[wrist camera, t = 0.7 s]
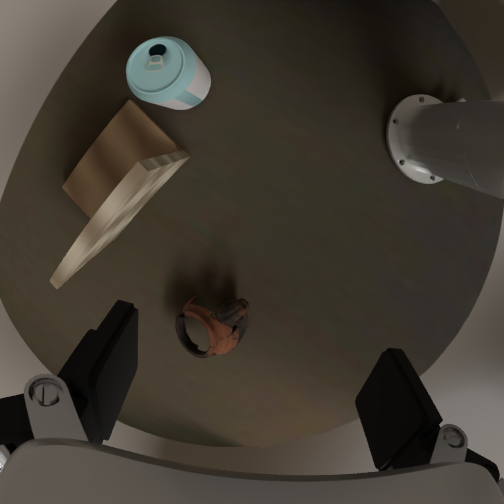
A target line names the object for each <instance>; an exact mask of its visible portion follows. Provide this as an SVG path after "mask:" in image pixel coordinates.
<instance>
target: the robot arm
mask: <svg viewBox="0 0 504 504" xmlns="http://www.w3.org/2000/svg"><path fill="white" fill-rule="evenodd" d="M419 99H420V101H419ZM393 120H394V121H395V123H393ZM386 142H387V147H388V151H389V153H390V156H391V158H392V160H393V162H394V164H395V165H396V167H397V168H398V169H399V170H400V171H401V172H402V173H403V174H404V175H405V176H407V177H408V178H410V179H412V180H414V181H417V182H420V183H425V184H433V183H436V182H439V181H442V180H443V179H446V180H450V181H453V182H456V183H458V184H461V185H464V186H467V187H470V188H473V189H476V190H478V191H481V192H484V193H486V194H489V195H492V196H495V197H498V198H501V199H504V100H488V101H465V100H464V99H463V98H459V99H458V100H457V101H456V102H450V103H443V102H442V101H440V100H438V99H437V98H435V97H432V96H430V95H424V94H418V95H412V96H408V97H406V98H404V99H402V100H401V101H400V102H399V103H397V105H396V106H395V107H394V108H393V110H392V112H391V114H390V116H389V118H388V122H387V127H386ZM399 161H401V162H400V163H399ZM430 176H431V178H430ZM137 365H138V309H136V308H134V304H133V303H129V302H125V301H121V300H118V301H117V302H116V303H115V304H114V306H113V307H112V309H111V310H110V311H109V313H108V314H107V316H106V317H105V319H104V320H103V321H102V323H101V324H100V326H99V327H98V329H97V330H93V329H90V330H89V331H88V332H87V333H86V334H85V336H84V337H83V339H82V340H81V341H80V343H79V344H78V346H77V347H76V349H75V350H74V351H73V353H72V354H71V356H70V357H69V359H68V360H67V362H66V363H65V365H64V366H63V368H62V369H61V371H60V372H59V374H58V375H57V376H55V375H50V374H40V375H37V376H34V377H33V378H31V379H30V380H29V381H28V382H27V383H26V385H25V388H24V394H19V395H15V396H10V397H5V398H1V399H0V504H504V479H503V478H501V479H500V480H499V476H500V474H499V470H498V467H497V465H496V464H495V463H493V462H492V461H490V460H488V459H486V458H484V457H483V456H481V455H479V454H477V453H475V452H474V451H472V450H470V449H468V448H467V445H468V439H467V436H466V434H465V433H464V432H463V431H462V430H461V429H460V428H459V427H457V426H455V425H452V424H446V425H443V426H442V427H441V428H440V426H439V424H440V423H441V422H442V421H443V419H442V417H441V416H440V414H439V412H438V410H437V408H436V406H435V405H434V403H433V401H432V399H431V397H430V396H429V394H428V392H427V390H426V389H425V387H424V385H423V383H422V382H421V380H420V378H419V376H418V375H417V373H416V371H415V370H414V368H413V366H412V365H411V363H410V361H409V360H408V358H407V356H406V355H405V353H404V351H403V350H402V349H396V348H388V349H387V350H386V351H384V352H383V353H382V354H381V356H380V358H379V359H378V361H377V363H376V365H375V367H374V368H373V370H372V372H371V374H370V375H369V377H368V379H367V380H366V382H365V384H364V385H363V387H362V389H361V390H360V392H359V394H358V395H357V397H356V401H355V404H356V408H357V411H358V414H359V417H360V420H361V423H362V426H363V429H364V432H365V436H366V439H367V442H368V445H369V448H370V452H371V455H372V458H373V461H374V465H375V467H376V468H377V469H379V471H378V472H368V473H357V474H342V475H309V476H308V475H305V476H304V475H272V474H257V473H245V472H235V471H226V470H218V469H211V468H205V467H199V466H193V465H188V464H183V463H178V462H173V461H168V460H162V459H158V458H154V457H150V456H145V455H141V454H138V453H133V452H130V451H126V450H121V449H118V448H114V447H110V446H106V445H102V442H103V440H109V438H110V436H111V433H112V430H113V428H114V425H115V422H116V420H117V417H118V415H119V412H120V410H121V407H122V405H123V402H124V400H125V397H126V395H127V392H128V390H129V388H130V385H131V383H132V380H133V378H134V376H135V373H136V370H137Z"/></svg>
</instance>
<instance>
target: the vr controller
mask: <svg viewBox="0 0 504 504" xmlns="http://www.w3.org/2000/svg"><path fill="white" fill-rule="evenodd" d="M195 300H196V296H194V297H193V298H191V299H190V300H189V301H188V302H187V303H186V304H185V306H184V308H183V310H182V313H181V315H178V316H177V318H176V324H175V327H176V332H177V335H178V338H179V340H180V342H181V344H182V345H183V347H184V348H185V349H186V350H187V351H188V352H189V353H190V354H192V355H194V356H195V357H198V358H207V357H209V356H215V355H216V354H225V353H226V352H229V351H230V350H231V349H233V348H234V347H235V346H236V345H237V344H238V343H239V342H240V341H241V339H242V338H243V335H244V333H245V331H246V330H247V327H248V316H247V312H248V311H249V309H250V308H249V303H248V302H247V301H246V300H245V299H242V298H241V299H239V300H237V301H236V300H233V299H230V300H229V301H228V302H227V303H224V304H223V305H220V306H219V307H218V309H217V311H216V313H215V315H216V318H217V319H215V318H213V317H212V314H213V312H212V311H210V310H208V309H206V308H204V307H201V306H198V305H194V304H192V303H193V302H194V301H195ZM185 316H191V317H194V318H195V319H197V320H198V321H199V322H200V323H202V324H203V325H204V327H205V329H206V331H207V333H208V336H209V339H210V347H209V349H208V351H206V352H204V351H201V350H198V345H196V344H194V343H193V342H192V341H191V340H190V338H189V336H188V334H187V333H186V328H185V324H184V317H185ZM234 325H235V328H234V329H233V331H232V327H233V326H234Z"/></svg>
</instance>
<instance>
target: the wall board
mask: <svg viewBox="0 0 504 504" xmlns="http://www.w3.org/2000/svg"><path fill="white" fill-rule="evenodd" d="M189 157H190V156H189V155H188V154H187V153H186V152H185V151H184V150H183V149H182V148H181V147H180V146H179V145H178V144H177V143H176V142H175V141H174V140H173V139H172V138H171V137H170V136H169V135H168V134H167V133H166V132H165V131H164V130H163V129H162V128H161V127H160V126H159V125H158V124H157V123H156V122H155V121H154V120H153V119H152V118H151V117H150V116H149V115H148V114H147V113H146V112H145V111H144V110H143V109H142V108H141V107H140V106H139V105H138V104H137V103H136V102H135V101H134V100H131V99H129V101H128V102H127V103H126V104H125V105H124V106H123V107H122V108H121V110H120V111H119V112H118V113H117V114H116V115H115V117H114V118H113V119H112V120H111V121H110V123H109V124H108V125H107V126H106V128H105V129H104V130H103V131H102V133H101V134H100V135H99V136H98V138H97V139H96V140H95V142H94V143H93V144H92V145H91V147H90V148H89V149H88V151H87V152H86V153H85V155H84V156H83V158H82V159H81V160H80V162H79V163H78V165H77V166H76V167H75V169H74V170H73V172H72V173H71V175H70V176H69V178H68V179H67V181H66V182H65V184H64V185H63V187H62V188H63V189H64V190H65V192H66V193H67V194H68V195H69V196H70V197H71V198H72V199H73V201H74V202H75V203H76V204H77V205H78V206H79V207H80V208H81V209H82V210H83V211H84V213H85V214H86V215H87V216H88V217H89V218H90V219H91V220H90V222H89V223H88V224H87V226H86V227H85V228H84V230H83V231H82V233H81V234H80V235H79V237H78V238H77V240H76V241H75V243H74V244H73V246H72V247H71V248H70V250H69V251H68V253H67V254H66V256H65V257H64V259H63V260H62V262H61V263H60V265H59V267H58V268H57V270H56V271H55V273H54V274H53V276H52V278H51V279H50V282H51V283H52V284H53V285H54V286H55V287H56V289H58V288H59V287H60V286H61V285H62V284H63V283H64V282H66V281H67V280H68V279H69V278H70V277H71V276H72V275H73V274H74V273H75V272H77V271H78V270H79V269H80V268H81V267H82V266H83V265H84V264H86V263H87V262H88V261H89V260H90V259H91V258H93V257H94V256H95V255H96V254H97V253H98V252H100V251H101V250H102V249H103V248H104V247H106V246H107V245H108V244H109V243H110V242H112V241H113V240H114V239H115V238H116V237H117V236H118V235H119V234H120V232H121V231H122V230H123V229H124V228H125V227H126V225H127V224H128V223H129V222H130V221H131V220H132V218H133V217H134V216H135V215H136V214H137V213H138V212H139V210H140V209H141V208H142V207H143V206H144V205H145V204H146V203H147V202H148V200H149V199H150V198H151V197H152V196H153V195H154V194H155V193H156V192H157V191H158V190H159V188H160V187H161V186H162V185H163V184H164V183H165V182H166V181H167V180H168V179H169V178H170V177H171V176H172V175H173V174H174V173H175V172H176V171H177V170H178V169H179V168H180V167H181V166H182V165H183V164H184V163H185V162H186V160H187V159H188V158H189Z"/></svg>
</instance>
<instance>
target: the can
mask: <svg viewBox="0 0 504 504" xmlns="http://www.w3.org/2000/svg"><path fill="white" fill-rule="evenodd" d="M126 76H127V82H128V85H129V87H130V89H131V91H132V92H133V93H134V94H135V95H136V96H137V97H138V98H140V99H141V100H143V101H146V102H150V103H154V104H157V105H161V106H165V107H168V108H172V109H176V110H185V109H189V108H192V107H194V106H196V105H198V104H199V103H200V102H201V101H202V100H203V99H204V98H205V97H206V95H207V94H208V92H209V89H210V84H211V78H210V74H209V71H208V69H207V68H206V66H205V65H204V64H203V63H202V61H201V60H200V59H199V57H198V56H197V55H196V54H195V52H194V51H193V50H192V49H191V47H190V46H189V45H188V44H187V43H186V42H184V41H183V40H181V39H178V38H175V37H168V36H165V37H158V38H153V39H150V40H147V41H145V42H144V43H142V44H140V45H139V46H138V47H137V48H136V49H135V50H134V51H133V52H132V54H131V55H130V57H129V59H128V62H127V66H126Z"/></svg>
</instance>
